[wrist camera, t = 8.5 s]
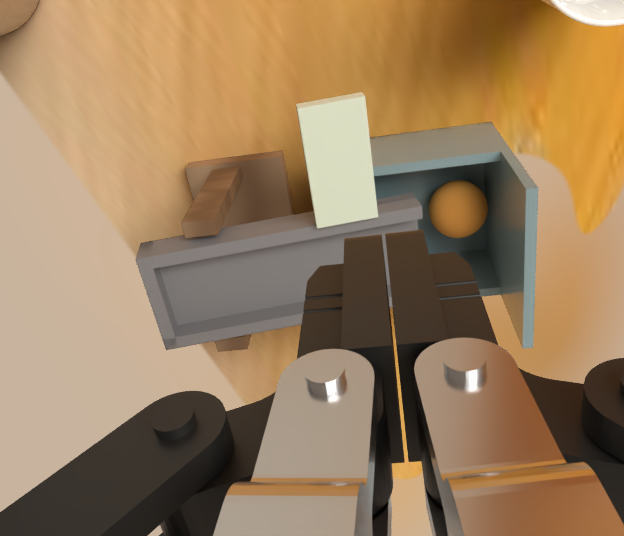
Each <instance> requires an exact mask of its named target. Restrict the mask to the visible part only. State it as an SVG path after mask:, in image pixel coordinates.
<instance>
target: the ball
mask: <svg viewBox="0 0 624 536" xmlns="http://www.w3.org/2000/svg"><path fill="white" fill-rule="evenodd" d="M487 213H488V204H487V200H486V197H485V195H484V193H483V192H482V191H481V190H480V188H478V187H477V186H476V185H474V184H473V183H470V182H468V181H463V180H455V181H450V182H447V183H445V184H443V185H442V186H440V187H439V188H438V189H437V190H436V191H435V192H434V194H433V195H432V197H431V200H430V203H429V216H430V220H431V222H432V224H433V225H434V227H435V228H436V229H437V230H438V231H439V232H440V233H442V234H444V235H446V236H448V237H453V238H463V237H467V236H469V235H471V234H473V233H475V232H476V231H478V230H479V229H480V228H481V226H482V225H483V223H484V222H485V220H486V217H487Z"/></svg>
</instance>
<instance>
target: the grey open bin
mask: <svg viewBox="0 0 624 536" xmlns="http://www.w3.org/2000/svg"><path fill="white" fill-rule="evenodd" d="M370 146H371V155H372V164H373V173H374V182H375V192H376V199H381V198H386V197H391V196H397V195H402V194H408V193H413V194H414V195H415V197H416V198H417V200H418V201H419V202H420V204H421V205H422V213H423V218H422V219H417V220H418V230H423V232H424V236H425V240H426V245H427V249H428V253H429V254H437V253H447V252H455V253H456V254H457V255H459V256H460V257H461V258H463V259H464V260H465V261H467V262H468V263H469V264H470V265H471V268H472V271H473V274H474V277H475V280H476V283H477V286H478V288H479V291H480V296H491V295H501V296H502V298H503V301H504V303H505V306H506V308H507V311H508V313H509V316H510V318H511V321H512V323H513V326H514V328H515V331H516V333H517V336H518V338H519V340H520V343H521V346H522V348H533V333H534V302H535V272H536V241H537V210H538V187H537V185H536V184H535V183H534V181H533V180H532V178H531V177H530V176H529V174H528V173H527V171H526V170H525V169H524V167H523V166H522V164H521V163H520V162H519V160H518V159H517V158H516V156H515V155H514V153H513V152H512V150H511V149H510V148H509V146H508V145H507V143H506V142H505V141H504V139H503V138H502V136H501V135H500V133H499V132H498V131H497V129H496V128H495V126H494V125H493V124H492V122H486V123H478V124H471V125H463V126H455V127H448V128H440V129H432V130H425V131H417V132H410V133H402V134H394V135H387V136H379V137H371V138H370ZM455 180H463V181H468V182H470V183H473V184H474V185H476V186H477V187H478V188H480V190H481V191H482V192H483V193H484V195H485V197H486V200H487V204H488V213H487V217H486V220H485V222H484V223H483V225H482V226H481V228H480V229H479V230H478V231H476V232H475V233H473V234H471V235H469V236H467V237H463V238H453V237H448V236H446V235H444V234H442V233H440V232H439V231H438V230H437V229H436V228H435V227H434V225H433V224H432V222H431V220H430V216H429V203H430V200H431V197H432V195H433V194H434V192H435V191H436V190H437V189H438V188H439V187H440V186H442V185H443V184H445V183H447V182H450V181H455Z"/></svg>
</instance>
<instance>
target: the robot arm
mask: <svg viewBox="0 0 624 536" xmlns="http://www.w3.org/2000/svg"><path fill="white" fill-rule="evenodd" d="M38 2H39V0H0V36H1V35H5V34H7V33H9V32H12V31H14V30H16V29H18V28H19V27H20V26H22V25H23V24H24V23H25V22H27V21H28V19H29V18H30V17H31V15H32V14H33V12H34V11H35V9H36V7H37V4H38ZM385 238H386V248H387V258H388V267H389V277H390V287H391V296H392V306H393V316H394V326H395V335H396V345H397V354H398V364H399V374H400V383H401V393H402V402H403V412H404V421H405V431H406V440H407V450H408V459H409V462H415V461H422V469H423V476H424V484H425V496H426V506H427V511H428V516H429V520H430V525H431V530H432V534H433V536H624V358H619V359H614V360H609V361H606V362H603V363H601V364H599V365H597V366H596V367H594V368H593V369H592V370H591V371H590V372H589V373H588V374H587V376H586V378H585V382H584V384H580V383H573V382H566V381H558V380H552V379H547V378H542V377H539V376H535V375H533V374H530V373H528V372H525V371H523V370H521V369H520V368H518V366H517V364H516V362H515V360H514V359H513V357H512V356H511V355H510V354H509V353H508V352H507V351H506V350H505V349H503V348H502V347H500V346H498V343H497V341H496V337H495V335H494V332H493V329H492V326H491V323H490V320H489V317H488V314H487V312H486V309H485V306H484V303H483V300H482V297H481V296H480V291H479V288H478V286H477V283H476V280H475V277H474V274H473V271H472V268H471V265H470V264H469V263H468V262H467V261H465V260H464V259H463V258H461V257H460V256H459V255H457V254H456V253H455V252H447V253H437V254H429V253H428V249H427V245H426V240H425V236H424V232H423V230H414V231H405V232H396V233H387V234H385ZM303 312H304V314H303V317H302V324H301V332H300V340H299V347H298V355H297V359H296V360H295V361H293V362H292V363H291V364H289V365H288V366H287V368H286V369H285V370H284V371H283V373H282V374H281V376H280V379H279V382H278V385H277V389H276V392H275V393H273V394H272V395H270V396H268V397H266V398H264V399H262V400H260V401H257V402H255V403H252V404H249V405H245V406H242V407H239V408H236V409H233V410H230V411H225V408H224V406H223V404H222V402H221V401H220V400H219V399H218V398H216V397H215V396H213V395H211V394H209V393H205V392H201V391H185V392H179V393H175V394H172V395H169V396H166V397H163V398H161V399H159V400H157V401H155V402H153V403H152V404H150V405H149V406H147V407H146V408H144V409H143V410H142V411H140V412H139V413H137V414H136V415H135V416H133V417H132V418H131V419H129V420H128V421H126V422H125V423H124V424H122V425H121V426H119V427H118V428H117V429H115V430H114V431H112V432H111V433H110V434H108V435H107V436H106V437H104V438H103V439H102V440H100V441H99V442H98V443H96V444H94V445H93V446H92V447H90V448H89V449H87V450H86V451H85V452H83V453H82V454H81V455H79V456H78V457H77V458H75V459H74V460H72V461H71V462H70V463H68V464H67V465H65V466H64V467H63V468H61V469H60V470H58V471H57V472H56V473H54V474H53V475H52V476H50V477H49V478H47V479H46V480H45V481H43V482H42V483H40V484H39V485H38V486H36V487H35V488H33V489H32V490H31V491H29V492H28V493H27V494H25V495H24V496H22V497H21V498H19V499H18V500H17V501H15V502H14V503H13V504H11V505H10V506H8V507H7V508H6V509H4V510H3V511H1V512H0V536H147V535H148V534H150V533H151V532H152V531H153V530H154V529H155V528H156V527H157V526H159V525H160V526H161V528H162V531H163V533H162V534H160V535H159V536H391V519H392V506H391V497H390V495H391V493H392V488H393V477H392V463H403V462H404V451H403V441H402V430H401V420H400V409H399V399H398V388H397V378H396V367H395V357H394V346H393V336H392V326H391V316H390V306H389V297H388V288H387V279H386V269H385V260H384V251H383V242H382V234H379V235H370V236H361V237H352V238H344V263H343V264H333V265H324V266H319V267H318V269H317V270H316V271H315V272H314V273H313V275H312V276H311V277H310V278H309V279H308V281H307V287H306V294H305V302H304V309H303Z"/></svg>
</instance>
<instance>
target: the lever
mask: <svg viewBox="0 0 624 536" xmlns="http://www.w3.org/2000/svg"><path fill="white" fill-rule="evenodd" d="M296 108H297V114H298V120H299V126H300V132H301V138H302V144H303V150H304V156H305V162H306V168H307V174H308V180H309V186H310V192H311V198H312V204H313V210H314V211H311V212H305V213H300V214H295V215H289V216H284V217H279V218H273V219H268V220H262V221H257V222H252V223H246V224H241V225H236V226H230V227H225V228H221V230H220V232H219V234H218V235H210V236H201V237H193V238H185V235H182V236H177V237H171V238H166V239H160V240H155V241H150V242H144V243H141V245H140V248H139V251H138V254H137V257H136V262H137V265H138V268H139V271H140V274H141V277H142V280H143V283H144V286H145V289H146V292H147V295H148V298H149V301H150V304H151V307H152V309H153V312H154V315H155V318H156V321H157V324H158V327H159V330H160V333H161V336H162V339H163V341H164V345H165V348H166V350H169V349H174V348H179V347H185V346H190V345H196V344H201V343H206V342H211V341H217V340H222V339H227V338H232V337H238V336H243V335H248V334H253V333H259V332H264V331H269V330H274V329H280V328H285V327H290V326H296V325H301V324H302V317H303V314H304V312H303V309H304V302H305V294H306V287H307V281H308V279H309V278H310V277H311V276H312V275H313V273H314V272H315V271H316V270H317V269H318V267H319V266H324V265H333V264H343V263H344V238H352V237H361V236H370V235H379V234H382V242H383V251H384V260H385V269H386V279H387V288H388V297H389V306H390V307H393V306H392V296H391V287H390V277H389V267H388V258H387V248H386V238H385V234H387V233H396V232H405V231H414V230H418V220H417V219H422V218H423V213H422V205H421V204H420V202H419V201H418V200H417V198H416V197H415V195H414V194H413V193H408V194H402V195H397V196H391V197H386V198H381V199H376V192H375V182H374V173H373V164H372V155H371V146H370V137H369V127H368V118H367V109H366V100H365V95H364V94H363V93H362V92H360V93H354V94H349V95H343V96H338V97H332V98H327V99H321V100H316V101H310V102H305V103H299V104H296Z"/></svg>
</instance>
